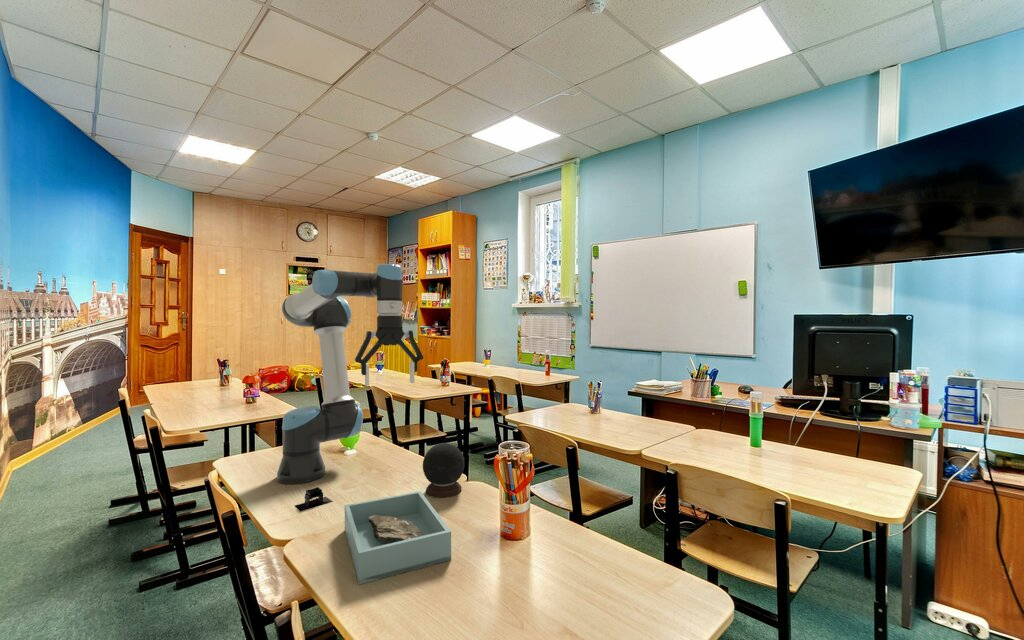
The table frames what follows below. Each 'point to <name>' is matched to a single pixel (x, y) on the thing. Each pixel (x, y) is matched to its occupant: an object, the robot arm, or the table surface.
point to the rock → (393, 529)
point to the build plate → (313, 503)
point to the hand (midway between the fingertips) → (390, 384)
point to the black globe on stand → (443, 470)
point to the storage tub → (400, 556)
